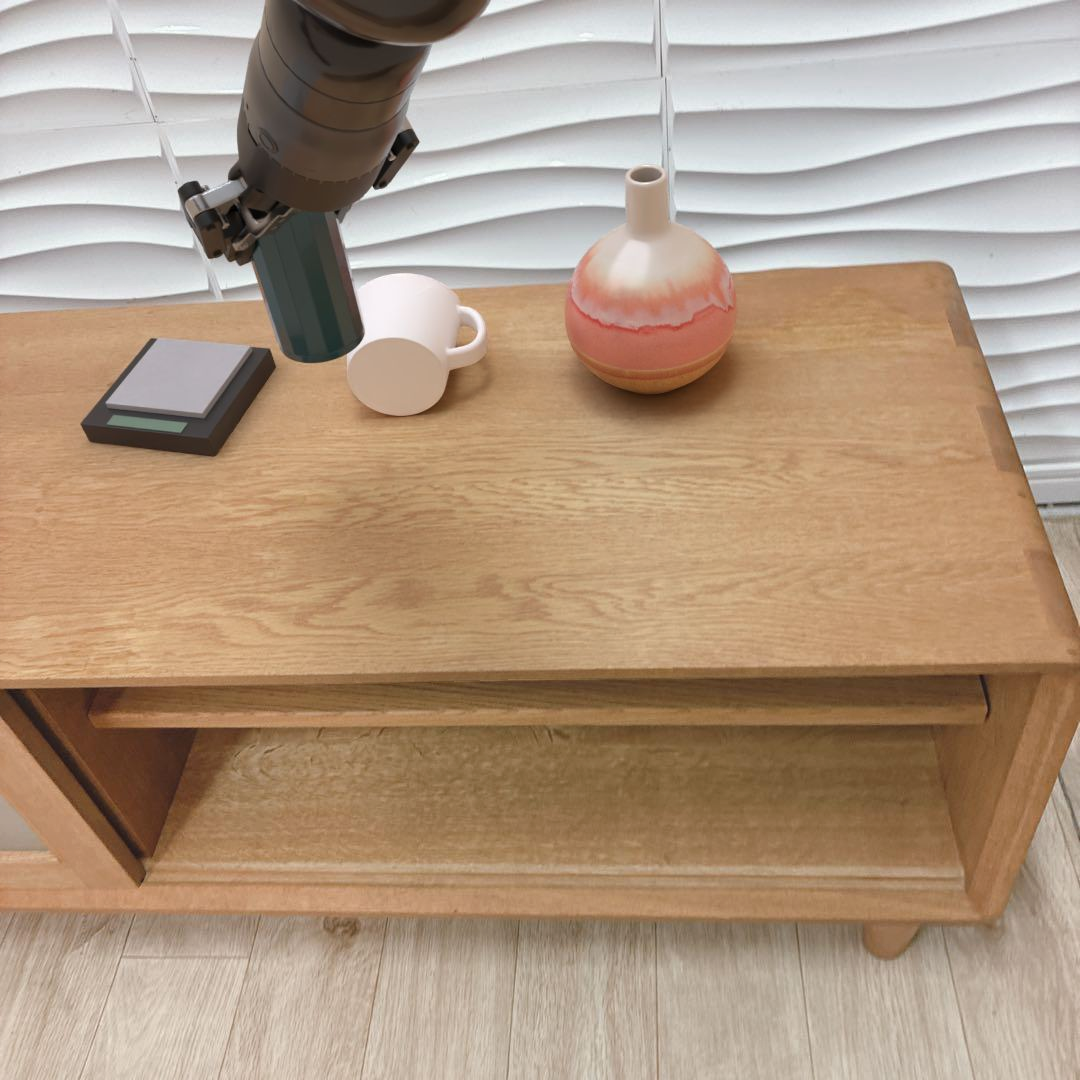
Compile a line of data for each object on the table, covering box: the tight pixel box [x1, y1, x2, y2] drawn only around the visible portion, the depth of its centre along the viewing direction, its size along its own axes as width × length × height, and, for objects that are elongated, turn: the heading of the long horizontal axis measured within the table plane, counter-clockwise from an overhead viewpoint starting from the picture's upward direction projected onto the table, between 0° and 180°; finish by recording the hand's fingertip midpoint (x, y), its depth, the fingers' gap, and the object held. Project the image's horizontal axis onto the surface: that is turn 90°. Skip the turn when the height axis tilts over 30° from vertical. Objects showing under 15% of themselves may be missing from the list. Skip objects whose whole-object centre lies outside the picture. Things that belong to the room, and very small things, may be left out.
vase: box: [564, 163, 738, 395], centre depth 84 cm, size 14×14×18 cm
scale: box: [80, 337, 277, 457], centre depth 92 cm, size 12×12×3 cm
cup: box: [238, 211, 365, 364], centre depth 68 cm, size 6×6×11 cm
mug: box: [345, 272, 489, 417], centre depth 89 cm, size 12×9×8 cm
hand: (282, 230), depth 68 cm, fingers closed on cup, 6 cm apart
